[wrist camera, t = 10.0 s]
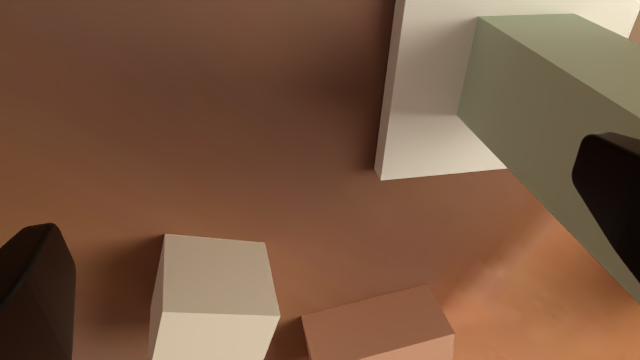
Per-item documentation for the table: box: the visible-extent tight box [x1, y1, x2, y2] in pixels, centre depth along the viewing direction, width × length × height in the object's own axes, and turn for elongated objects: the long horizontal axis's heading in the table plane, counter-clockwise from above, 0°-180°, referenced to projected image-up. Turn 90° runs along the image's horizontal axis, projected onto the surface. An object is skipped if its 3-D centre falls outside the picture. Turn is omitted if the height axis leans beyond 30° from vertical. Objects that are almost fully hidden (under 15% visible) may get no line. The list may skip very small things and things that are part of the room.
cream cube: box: [148, 234, 280, 360], centre depth 24 cm, size 5×5×5 cm
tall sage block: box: [457, 14, 640, 305], centre depth 17 cm, size 4×4×12 cm
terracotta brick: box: [301, 284, 455, 360], centre depth 30 cm, size 8×4×4 cm, turn 96°
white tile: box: [374, 0, 640, 180], centre depth 23 cm, size 11×11×1 cm
